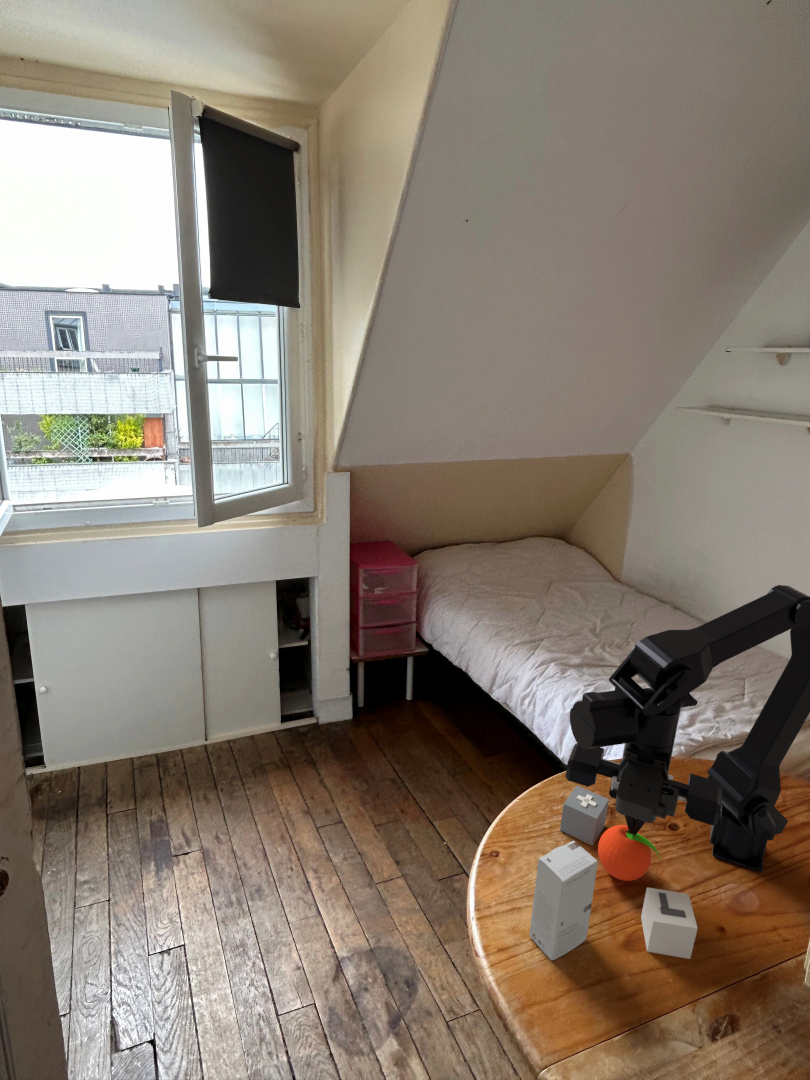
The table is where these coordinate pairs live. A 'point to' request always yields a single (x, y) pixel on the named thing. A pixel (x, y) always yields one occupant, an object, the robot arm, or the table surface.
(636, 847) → the clementine
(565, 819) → the slate block
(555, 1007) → the table surface
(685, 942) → the pale grey block
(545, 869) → the skincare box
